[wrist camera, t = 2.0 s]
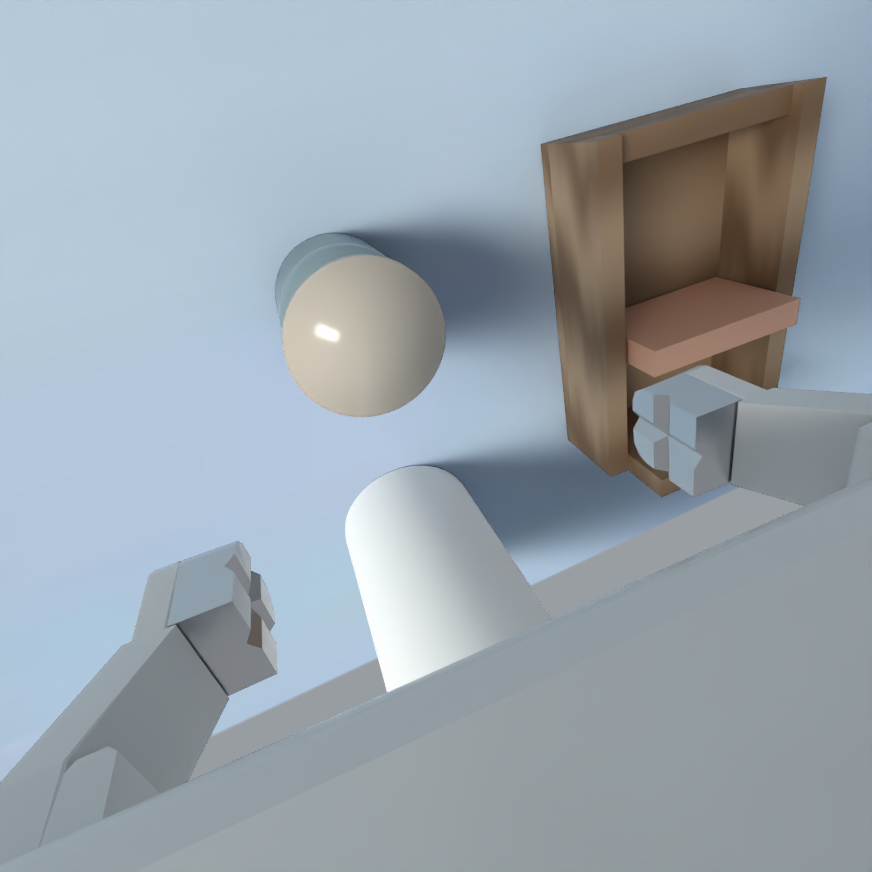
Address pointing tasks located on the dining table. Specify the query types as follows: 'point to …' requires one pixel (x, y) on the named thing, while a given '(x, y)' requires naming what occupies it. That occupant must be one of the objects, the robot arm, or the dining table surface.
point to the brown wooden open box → (671, 241)
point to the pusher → (702, 323)
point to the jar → (357, 326)
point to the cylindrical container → (432, 574)
